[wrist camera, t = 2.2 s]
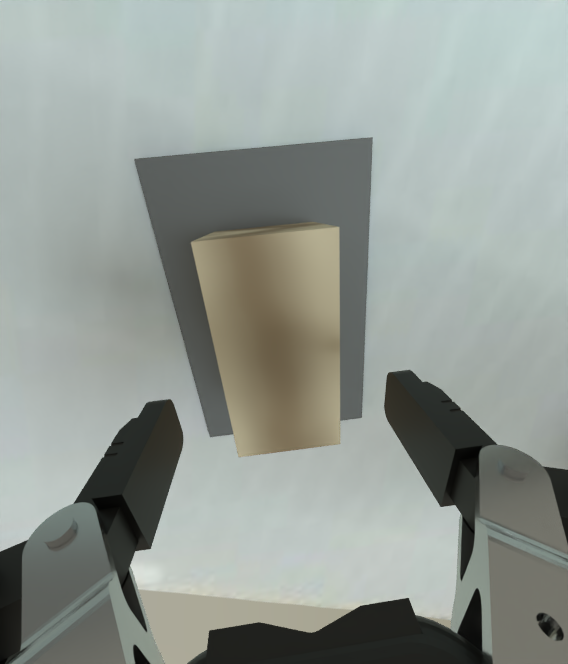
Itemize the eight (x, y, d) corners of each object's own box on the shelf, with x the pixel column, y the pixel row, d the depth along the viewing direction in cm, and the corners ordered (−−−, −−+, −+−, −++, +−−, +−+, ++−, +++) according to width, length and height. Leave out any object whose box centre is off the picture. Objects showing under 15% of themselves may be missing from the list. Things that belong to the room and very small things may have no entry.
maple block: (313, 221, 16) (339, 226, 11) (319, 384, 21) (340, 443, 16) (214, 231, 16) (190, 241, 11) (244, 393, 21) (238, 457, 16)
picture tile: (368, 140, 15) (372, 137, 15) (359, 413, 24) (361, 418, 23) (138, 161, 15) (134, 159, 14) (211, 431, 23) (210, 437, 23)
